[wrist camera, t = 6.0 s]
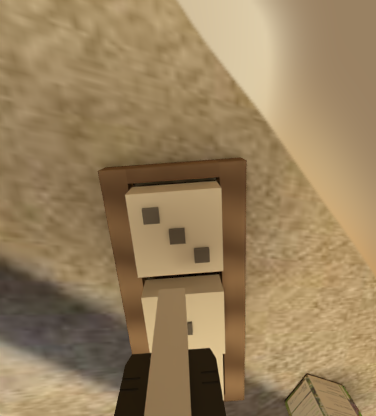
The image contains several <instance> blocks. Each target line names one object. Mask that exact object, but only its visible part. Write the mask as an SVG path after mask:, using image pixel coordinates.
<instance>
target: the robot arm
mask: <svg viewBox="0 0 376 416" xmlns="http://www.w3.org/2000/svg"><path fill="white" fill-rule="evenodd" d="M114 416H226V413H225V407H224V401H223V395H222V389H221V384H220V378H219V372H218V366H217V360H216V357H215V355H214V354H213V352H212V350H211V349H210V348H201V349H188V329H187V312H186V296H185V288H177V289H162V290H159V292H158V301H157V309H156V318H155V327H154V335H153V344H152V352H151V353H143V354H132V356H131V357H130V359H129V360H128V362H127V364H126V365H125V369H124V373H123V378H122V383H121V387H120V392H119V396H118V401H117V405H116V410H115V414H114Z"/></svg>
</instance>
